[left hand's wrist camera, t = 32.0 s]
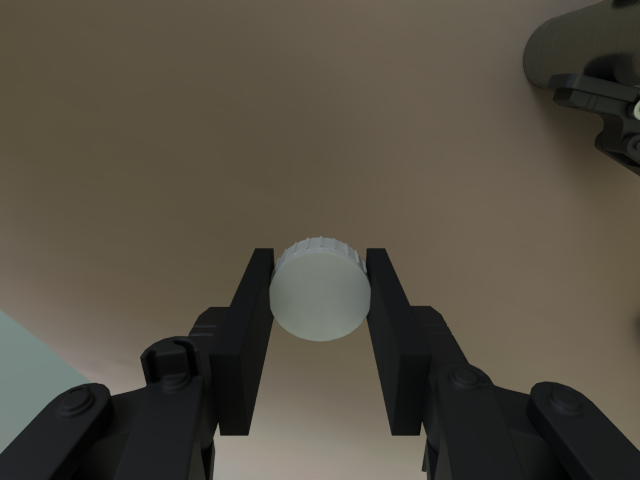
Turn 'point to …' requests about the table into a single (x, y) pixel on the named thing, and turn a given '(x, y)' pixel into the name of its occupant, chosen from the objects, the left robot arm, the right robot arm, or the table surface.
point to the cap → (320, 289)
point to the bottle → (588, 44)
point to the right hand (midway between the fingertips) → (580, 29)
